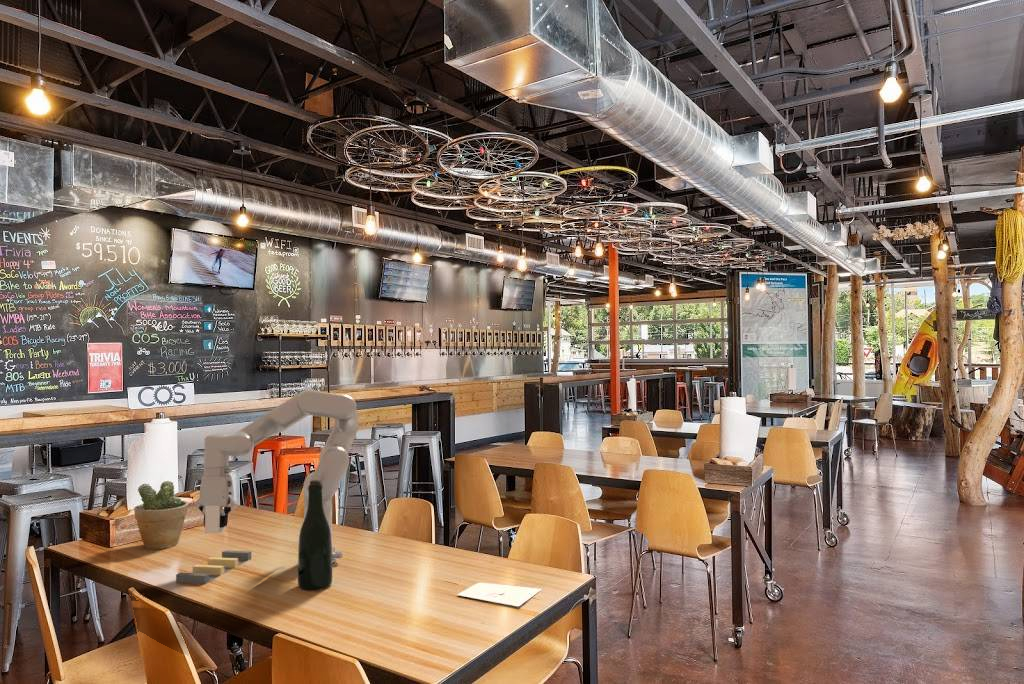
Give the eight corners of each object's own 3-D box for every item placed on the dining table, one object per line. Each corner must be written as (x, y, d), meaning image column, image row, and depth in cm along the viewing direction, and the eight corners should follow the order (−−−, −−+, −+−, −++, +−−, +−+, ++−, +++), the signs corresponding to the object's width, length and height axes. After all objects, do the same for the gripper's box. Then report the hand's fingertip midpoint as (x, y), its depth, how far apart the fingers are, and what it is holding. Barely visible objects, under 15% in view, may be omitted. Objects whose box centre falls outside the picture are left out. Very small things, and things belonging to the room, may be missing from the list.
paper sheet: (449, 596, 191) (449, 592, 191) (502, 572, 215) (502, 569, 215) (515, 611, 178) (515, 607, 178) (564, 584, 203) (564, 580, 203)
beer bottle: (339, 583, 202) (339, 479, 203) (313, 593, 193) (314, 484, 194) (316, 578, 207) (316, 476, 208) (290, 587, 198) (290, 481, 199)
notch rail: (251, 562, 223) (251, 551, 224) (205, 588, 198) (205, 575, 198) (225, 561, 225) (225, 550, 225) (176, 587, 199) (176, 574, 199)
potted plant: (152, 538, 256) (153, 476, 256) (197, 538, 255) (198, 476, 256) (123, 552, 237) (123, 485, 238) (171, 552, 237) (172, 485, 237)
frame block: (225, 530, 213) (226, 503, 214) (218, 533, 209) (219, 506, 210) (212, 529, 214) (212, 502, 214) (204, 532, 210) (205, 505, 210)
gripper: (246, 470, 215) (245, 524, 214) (200, 469, 217) (199, 522, 217) (233, 474, 207) (232, 530, 207) (185, 472, 210) (184, 528, 209)
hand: (215, 525), depth 212 cm, fingers closed on frame block, 5 cm apart
